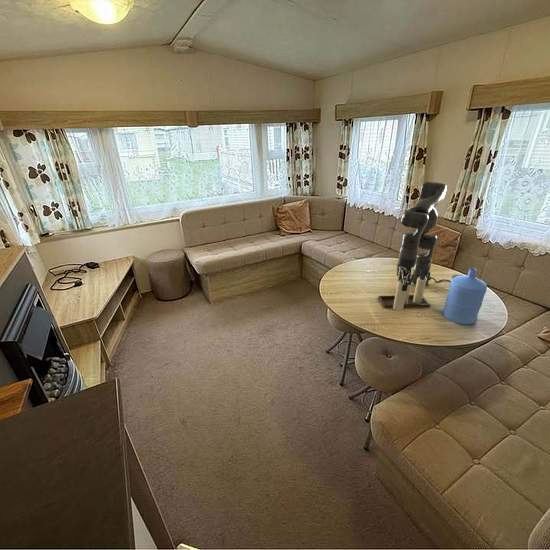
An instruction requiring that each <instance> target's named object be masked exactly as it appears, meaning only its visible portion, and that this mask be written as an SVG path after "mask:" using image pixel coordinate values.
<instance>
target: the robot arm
mask: <svg viewBox="0 0 550 550" xmlns="http://www.w3.org/2000/svg"><path fill="white" fill-rule="evenodd" d="M446 192H447V184H445V183H443V182H436V181H435V182H434V181H425V182H423V183H422V184H421V186H420V190H419V201H417V202H416V203H415V205H414V206H413V207H411V208H409V209H407V210H406V211H405V212H403V214H402V216H401V218H400V223H401V225H402V226H403V227H404V228H408V229H412V230H413V229H414V230H415V231H409V232H407V231H406V232H404V233H403V235H402V239H401V243H400V244H401V245H400V248H399V253H398V260H397V264H396V277H397V282H398V281H399V280H400V279H401V278H402V279H403V285H402V291H407V286H408V285H411V286H415V287H416V283H417V279H418V277H420V276H421V275H423V276H425V278H426V279H427V280H426V285H425V287H426V286H428V285H429V282H430V281H431V280H434V282H435V283H440V282H442V281H445V282H450V283H451V281H452V280H450V279H445V278H444V279H443V278H442V279H440V280H436V278H434V277H432V276H431V274H432V273H431V266H432V263H433V262H432V261H433V258H434V253H435V249H436V246H437V243H438V236H437V235H434V234H427V233H429V232H430V231H431V230H433V229H434V228H436V226H437V224H438V217H439V215H438V212H437V210H436V208H435V207H436V206H438V205H439V204H440V203H441V202H442V201H443V200H444V199H445V195H446ZM419 249H420V250H426V251H423V252H419ZM412 268H413V269H412ZM405 277H407V278H405ZM405 280H406V281H405ZM411 283H412V284H411Z"/></svg>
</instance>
